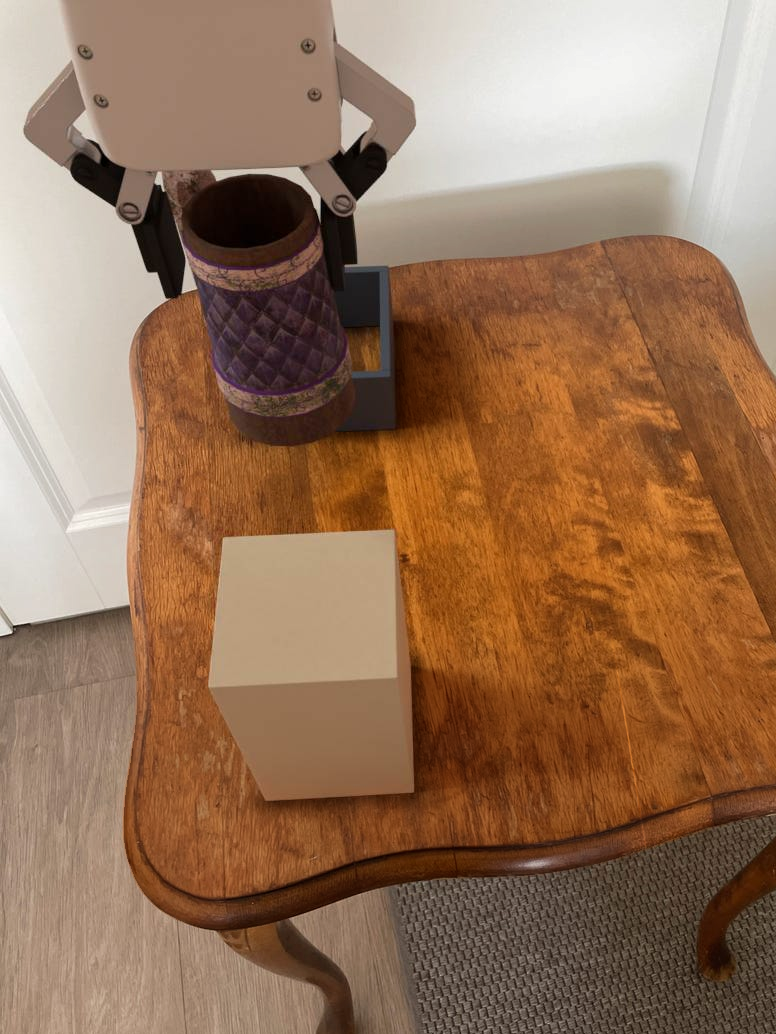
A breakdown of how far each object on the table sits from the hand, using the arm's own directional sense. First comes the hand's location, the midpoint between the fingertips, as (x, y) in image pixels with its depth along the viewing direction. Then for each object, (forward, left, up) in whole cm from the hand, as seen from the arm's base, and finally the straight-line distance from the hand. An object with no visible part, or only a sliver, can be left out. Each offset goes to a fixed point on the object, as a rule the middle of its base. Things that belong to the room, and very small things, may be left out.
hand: (257, 275), depth 46 cm
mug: (0, 0, -8) cm, 8 cm away
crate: (-1, +25, -29) cm, 39 cm away
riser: (+1, -10, -29) cm, 31 cm away
